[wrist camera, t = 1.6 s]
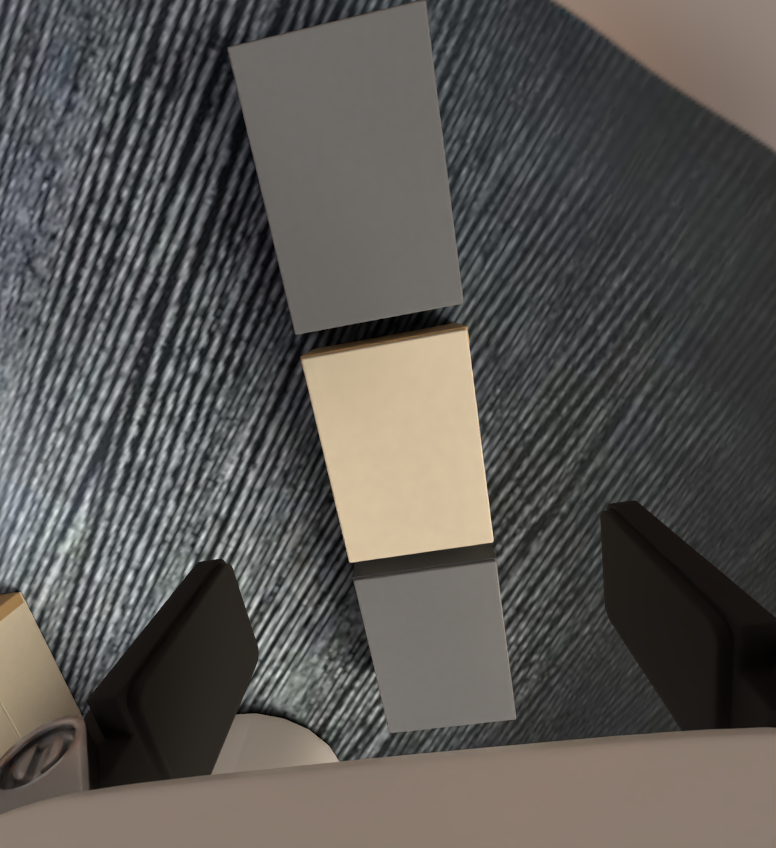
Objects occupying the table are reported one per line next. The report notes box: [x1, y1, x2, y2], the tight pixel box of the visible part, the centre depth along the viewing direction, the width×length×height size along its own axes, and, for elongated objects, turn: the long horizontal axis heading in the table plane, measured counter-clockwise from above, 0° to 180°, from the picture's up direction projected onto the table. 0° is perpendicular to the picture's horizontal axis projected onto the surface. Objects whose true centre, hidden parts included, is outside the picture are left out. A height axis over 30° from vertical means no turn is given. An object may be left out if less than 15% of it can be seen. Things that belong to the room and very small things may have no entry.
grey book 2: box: [352, 543, 516, 733], centre depth 23 cm, size 10×7×4 cm
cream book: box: [300, 323, 494, 563], centre depth 20 cm, size 10×7×4 cm
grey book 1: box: [227, 0, 463, 335], centre depth 17 cm, size 10×7×4 cm
